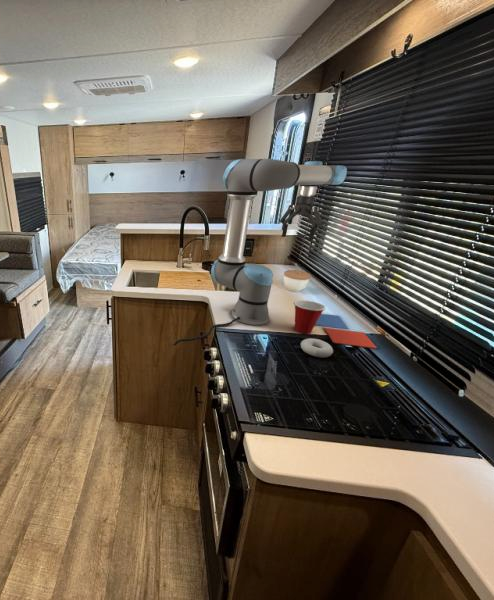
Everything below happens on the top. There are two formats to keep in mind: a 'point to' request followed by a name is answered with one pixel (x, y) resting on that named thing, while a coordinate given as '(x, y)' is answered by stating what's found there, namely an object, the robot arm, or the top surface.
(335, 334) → the red mat
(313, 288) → the top surface
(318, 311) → the plastic cup
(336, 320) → the blue mat
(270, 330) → the top surface
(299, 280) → the white bowl with cork
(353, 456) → the top surface
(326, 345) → the donut
